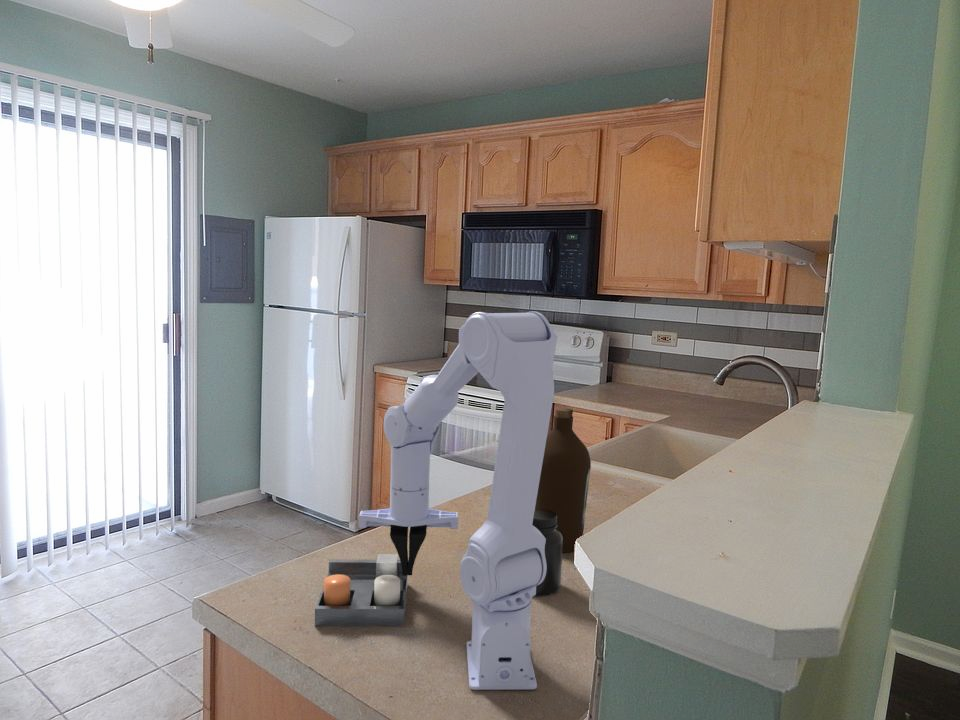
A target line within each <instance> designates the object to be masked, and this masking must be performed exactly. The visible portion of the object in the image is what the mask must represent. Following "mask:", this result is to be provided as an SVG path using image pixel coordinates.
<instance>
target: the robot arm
mask: <svg viewBox="0 0 960 720" xmlns="http://www.w3.org/2000/svg"><path fill="white" fill-rule="evenodd" d="M557 342H558V336H557V334H556V332H555V330H554V328H553V327H552V325H551V324H550V322H549V321H548V319H547V317H546V316H545V315H544V314H542V313H541V312H539V311H533V310H532V311H531V310H530V311H527V312H494V313H493V312H483V311H477V312H474V313H472V314H470V316H469V317H467V319H466V320H465V323H464V324H463V325H462V326H461V327H460V328H459V330H458V345H457V346H456V348H455V349H454V350H453V352H452V353H451V354H450V356H449V358H448V360H447V361H446V362H445V364H444V365H443V367H442V368H441V369H440V371H439V372H438V374H430V375H423V376H422V377H421V378H420V380H419V382H420V383H419V384H418V386H417V387H416V388H415V389H414V391H413V392H412V393H410V395H409V396H407V398H406V400H405V401H404V403H403V404H399V405H398V406H397V405H394V406H393V405H392V406H390V407H388V408H387V411H386V412H385V414H384V417H383V432H384V436H385V438H386V441H387V442H388V443H389V445H390V480H389V481H390V483H389V484H390V485H389V486H390V488H389V489H390V490H389V491H390V492H389V508H380V509H371V510H361V511H359V512H360V513H359V515H358V528H359V529H362V528H363V529H366V528H367V527H388V528H389V527H390V532H389V537H390V539H391V542H392V544H393V545H394V548H395V549H396V552H397V554H398V559H399V560H400V561H401V566H402V572H403V575H408V576H412V575H413V570H414V569H413V568H414V565H415V562H416V559H417V556H418V553H419V551H420V549H421V546H422V545H423V543H424V542H425V539H426V536H427V531H428V530H427V528H449V529H451V530H459V529H458V527H459V525H458V524H459V512H458V511H444V510H439V509H432V508H429V506H430V499H429V498H430V471H431V470H430V464H431V455H432V454H433V452H434V450H435V442H436V440H437V439H438V436H439V433H440V428H441V427H440V424H441V423H442V421H443V420H444V419H446V417H447V416H448V415H450V413H451V412H452V411H453V410H454V409H455V408H456V406H457V405H458V403H459V391H460V390H462V388H464V387H465V386H466V385H467V384H468V383H469V382H470V381H471V380H472V379H473V378H474V377H476V375H477V374H480V376H482V377H483V379H484V380H485V381H486V382H487V383H488V385H489V386H490V387H491V388H492V389H494V390H497V391H499V392H500V393H501V395H502V398H503V399H504V400H503V401H504V402H503V409H502V413H501V414H502V416H501V420H500V421H501V422H500V429H499V436H498V442H497V450H496V456H495V461H494V462H495V463H494V467H493V468H494V469H493V476H492V483H491V489H490V497H489V501H488V502H489V503H488V511H487V517H486V520H485V522H483V524H482V525H481V526H480V527H479V528H478V529H477V530H476V531H475V532H474V533H473V534H472V535H471V537H470V538H469V539H468V546H467V548H466V549H467V550H466V552H465V554H464V555H463V557H461V561H460V564H459V565H460V566H459V580H460V583H461V587H462V589H463V592H464V593H465V594H466V596H467V597H468V598H469V600H471V602H472V620H471V621H472V622H471V625H472V626H471V640H467V641H466V656H467V657H466V658H467V659H466V660H467V672H468V683H469V685H468V686H469V688H470V690H476V691H477V690H478V691H479V690H480V691H481V690H483V691H484V690H492V691H493V690H502V691H503V690H504V691H505V690H506V691H507V690H508V691H509V690H510V691H511V690H536V689H538V684H537V683H538V682H537V680H536V675H535V671H534V666H533V662H532V661H533V660H532V657H531V649H532V648H531V647H532V646H531V645H532V643H531V642H532V641H531V634H530V633H531V632H530V631H531V616H532V615H531V614H532V613H531V612H532V598H533V597H535V596H534V595H536V586H537V585H539V584H541V583H542V582H543V580H544V578H545V576H546V571H547V565H546V558H545V542H546V539H545V537H544V536H543V535H542V533H541V532H540V531H539V530H538V529H537V528H536V527H534V526H533V525H532V523H533V517H534V511H535V505H536V499H537V493H538V487H539V481H540V475H541V469H542V463H543V457H544V451H545V445H546V439H547V435H548V434H549V427H550V420H551V416H552V415H551V414H552V408H553V402H554V394H555V381H554V380H555V379H554V370H553V367H554V366H553V365H554V360H555V356H556V355H555V353H556V349H557V348H556V347H557ZM408 538H409V539H408Z"/></svg>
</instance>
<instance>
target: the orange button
mask: <svg viewBox="0 0 960 720" xmlns="http://www.w3.org/2000/svg"><path fill="white" fill-rule="evenodd" d="M326 577H327V576H326ZM326 577H325V578H324V579H323V585H324V604H325V605H327V606H344V605H346V604H348V603H349V601H350V578H349V577H348V576H346V575H341V574H337V575H331V576H328V577H327V578H326Z"/></svg>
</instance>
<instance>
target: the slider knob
mask: <svg viewBox="0 0 960 720" xmlns="http://www.w3.org/2000/svg"><path fill="white" fill-rule="evenodd" d="M376 560H377V562H376V578H377V577H379V576H382V575H394V576H397V574H398V560H399V555H398V553H390V554H389V553H386V554H385V553H377V558H376Z"/></svg>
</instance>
